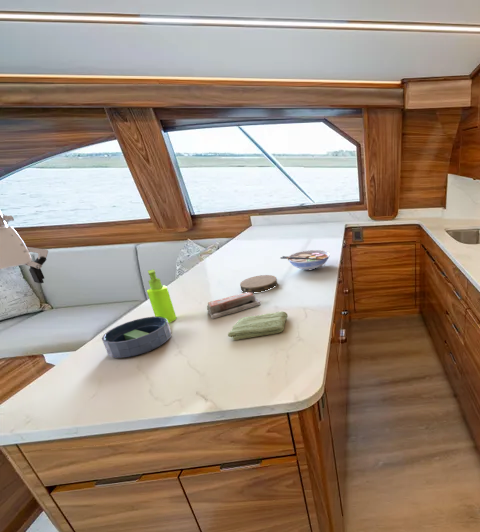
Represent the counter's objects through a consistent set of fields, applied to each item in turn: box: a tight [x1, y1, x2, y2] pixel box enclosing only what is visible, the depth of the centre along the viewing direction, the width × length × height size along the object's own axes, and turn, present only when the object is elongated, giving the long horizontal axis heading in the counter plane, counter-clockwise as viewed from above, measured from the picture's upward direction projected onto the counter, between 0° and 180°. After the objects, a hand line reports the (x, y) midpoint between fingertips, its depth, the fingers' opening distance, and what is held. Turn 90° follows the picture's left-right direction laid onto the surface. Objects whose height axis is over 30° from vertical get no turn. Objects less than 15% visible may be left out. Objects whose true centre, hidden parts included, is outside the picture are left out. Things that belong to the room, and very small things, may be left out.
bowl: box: [101, 316, 173, 358], centre depth 97 cm, size 16×16×6 cm
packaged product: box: [206, 292, 261, 320], centre depth 121 cm, size 18×5×10 cm
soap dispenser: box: [146, 268, 177, 323], centre depth 111 cm, size 6×7×20 cm
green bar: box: [124, 329, 149, 341], centre depth 97 cm, size 10×3×3 cm, turn 69°
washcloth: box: [227, 310, 289, 341], centre depth 105 cm, size 13×18×3 cm
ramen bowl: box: [280, 249, 331, 271], centre depth 166 cm, size 25×23×8 cm
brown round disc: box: [239, 274, 278, 294], centre depth 143 cm, size 16×16×3 cm
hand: (12, 289), depth 77 cm, fingers open, 9 cm apart
